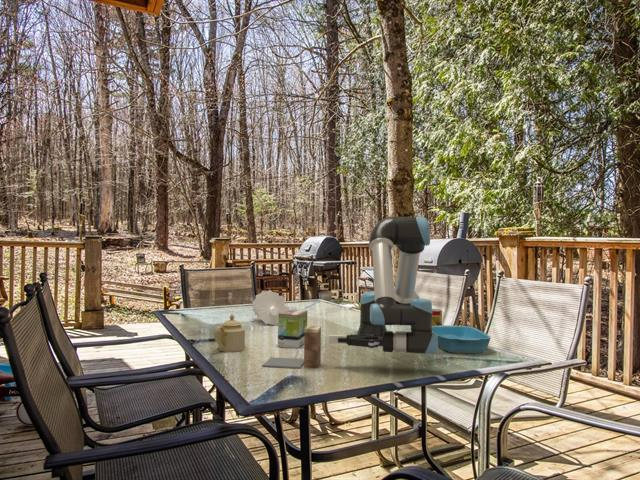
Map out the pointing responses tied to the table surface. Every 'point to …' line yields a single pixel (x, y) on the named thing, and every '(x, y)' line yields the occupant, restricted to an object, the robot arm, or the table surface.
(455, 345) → the casserole dish
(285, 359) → the mat
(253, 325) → the table surface
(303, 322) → the tea box
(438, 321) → the canned food
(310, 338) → the walnut block
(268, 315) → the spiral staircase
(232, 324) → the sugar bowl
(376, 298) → the robot arm
